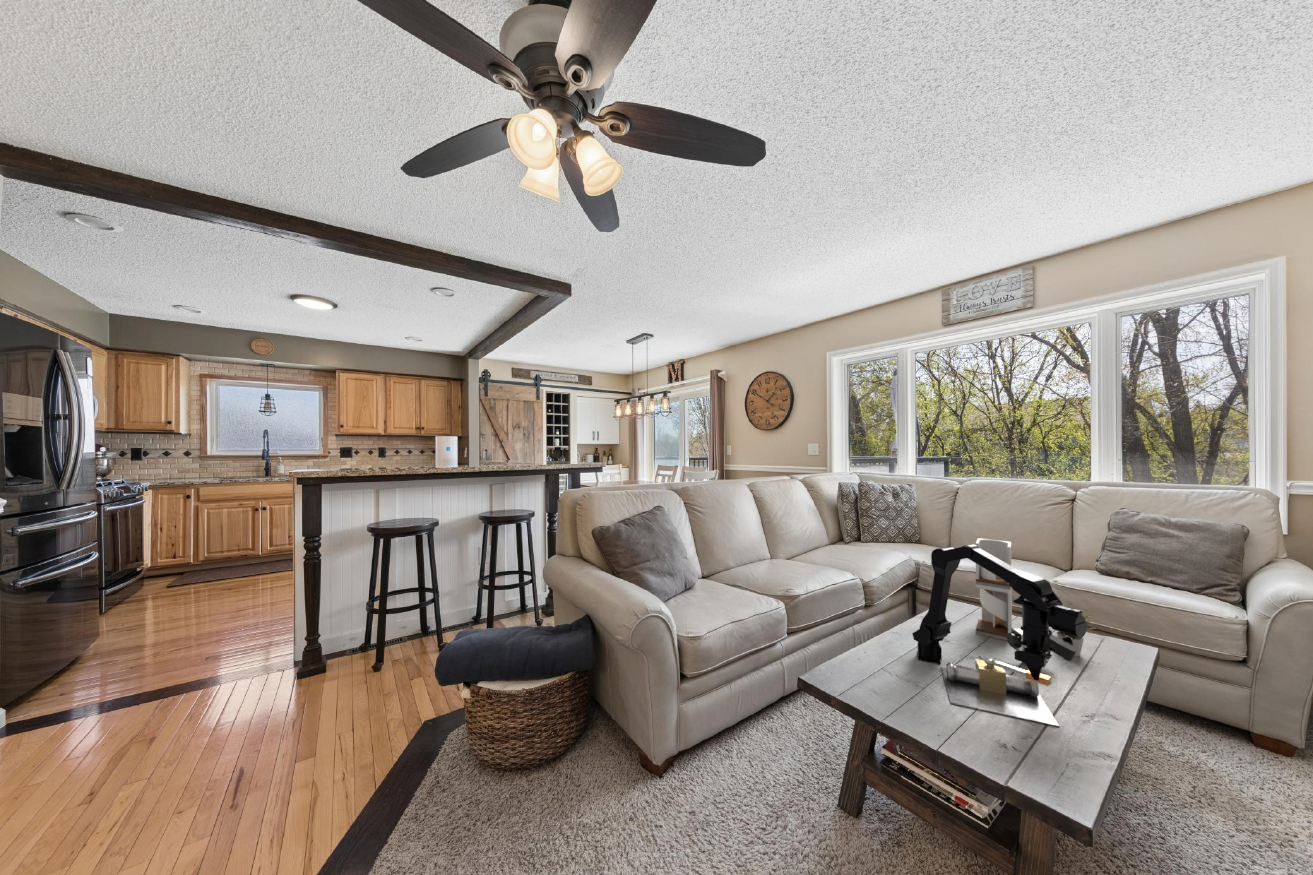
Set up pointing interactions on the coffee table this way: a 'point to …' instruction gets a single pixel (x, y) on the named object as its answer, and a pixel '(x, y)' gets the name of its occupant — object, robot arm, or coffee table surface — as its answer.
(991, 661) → the valve lever
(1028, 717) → the pipe on metal plate
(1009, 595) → the white shelf tower
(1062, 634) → the house plant
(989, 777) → the coffee table surface
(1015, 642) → the pneumatic valve
